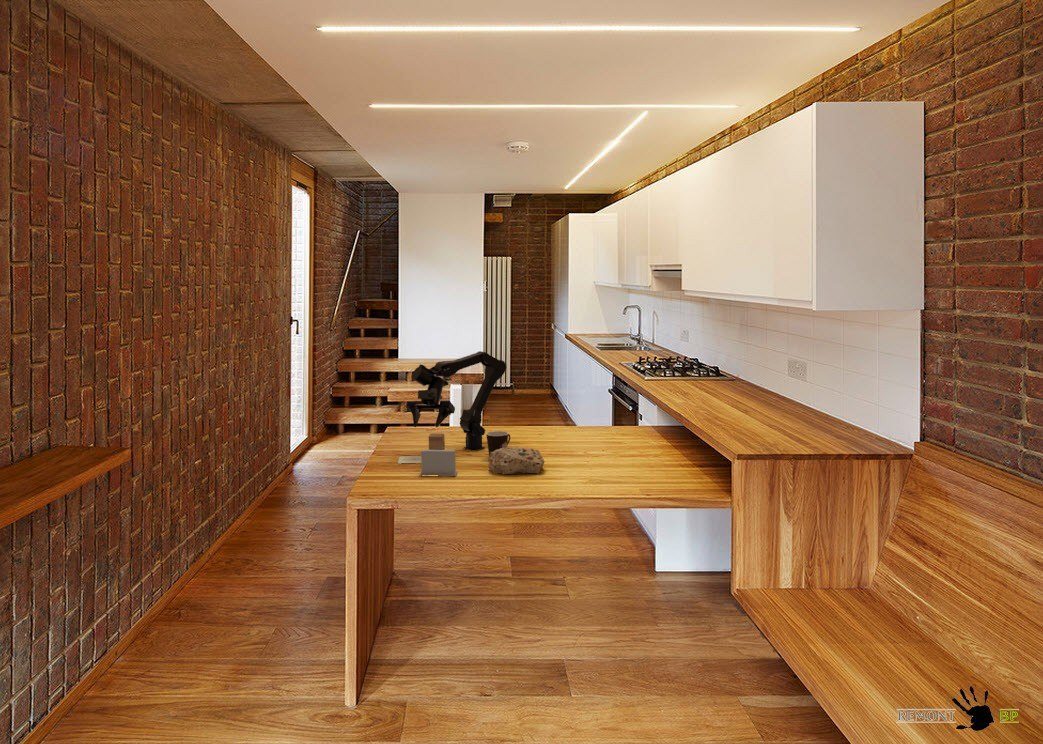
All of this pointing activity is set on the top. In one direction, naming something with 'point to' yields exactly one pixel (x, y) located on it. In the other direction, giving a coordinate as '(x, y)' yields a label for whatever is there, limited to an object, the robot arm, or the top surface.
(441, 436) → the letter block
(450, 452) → the screen
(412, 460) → the mat
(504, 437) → the coffee mug
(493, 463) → the rock
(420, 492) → the top surface
